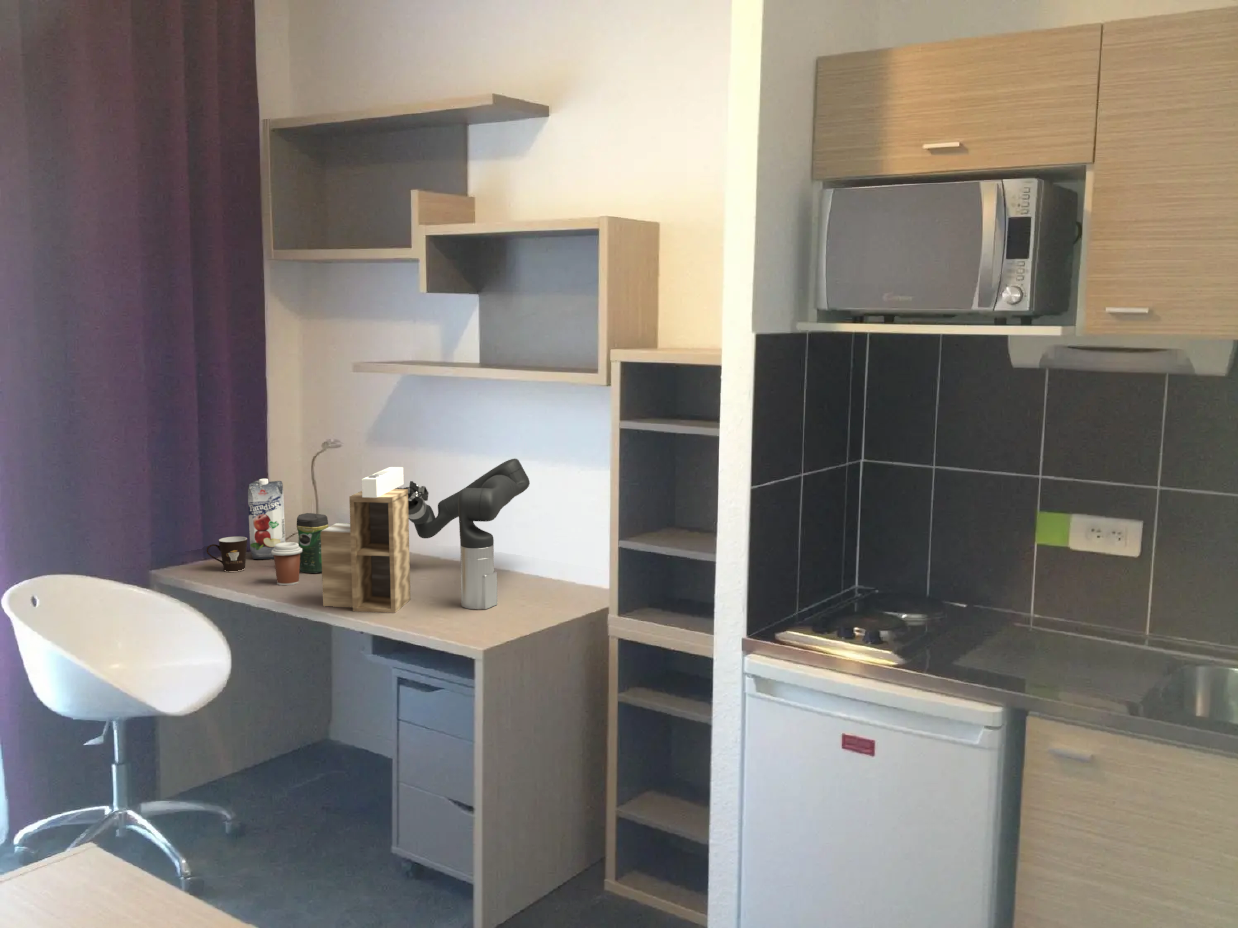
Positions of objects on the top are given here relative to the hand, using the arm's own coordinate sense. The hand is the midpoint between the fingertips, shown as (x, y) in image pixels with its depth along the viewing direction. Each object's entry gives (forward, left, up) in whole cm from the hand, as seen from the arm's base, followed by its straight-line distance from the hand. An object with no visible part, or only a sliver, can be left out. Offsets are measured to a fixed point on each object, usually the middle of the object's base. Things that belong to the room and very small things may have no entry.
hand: (396, 483), depth 315 cm
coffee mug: (+66, +2, -32) cm, 73 cm away
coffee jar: (+41, -9, -32) cm, 53 cm away
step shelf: (0, +15, -32) cm, 36 cm away
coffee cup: (+37, +7, -32) cm, 49 cm away
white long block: (-4, +11, 0) cm, 11 cm away
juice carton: (+68, -17, -32) cm, 77 cm away
